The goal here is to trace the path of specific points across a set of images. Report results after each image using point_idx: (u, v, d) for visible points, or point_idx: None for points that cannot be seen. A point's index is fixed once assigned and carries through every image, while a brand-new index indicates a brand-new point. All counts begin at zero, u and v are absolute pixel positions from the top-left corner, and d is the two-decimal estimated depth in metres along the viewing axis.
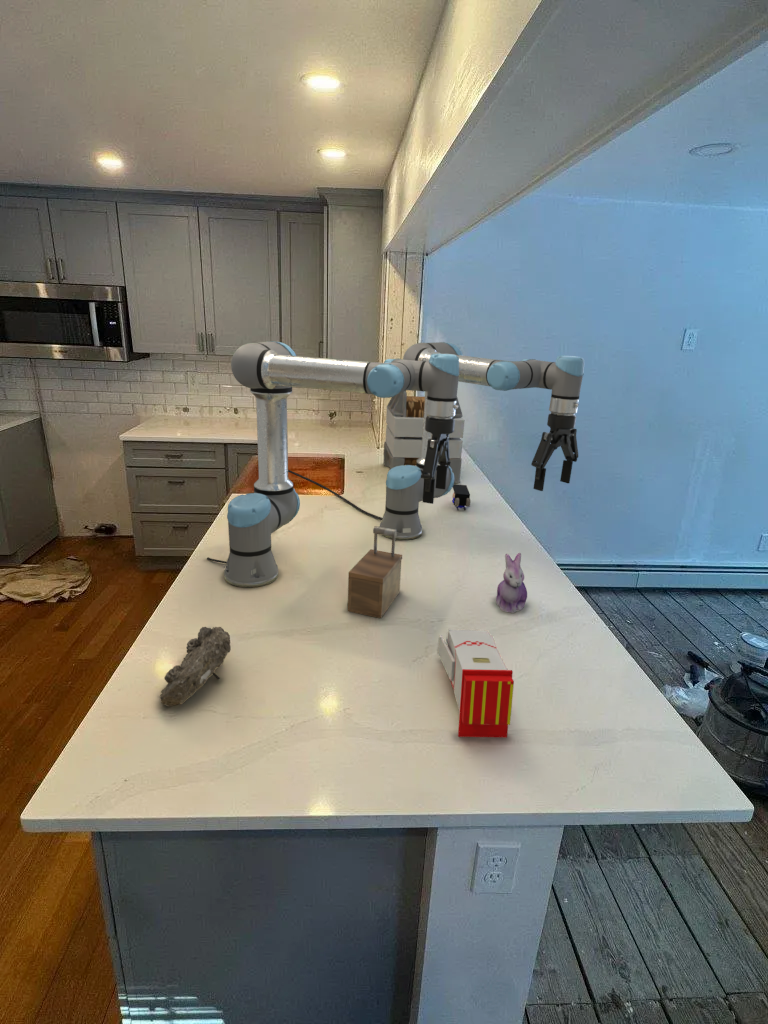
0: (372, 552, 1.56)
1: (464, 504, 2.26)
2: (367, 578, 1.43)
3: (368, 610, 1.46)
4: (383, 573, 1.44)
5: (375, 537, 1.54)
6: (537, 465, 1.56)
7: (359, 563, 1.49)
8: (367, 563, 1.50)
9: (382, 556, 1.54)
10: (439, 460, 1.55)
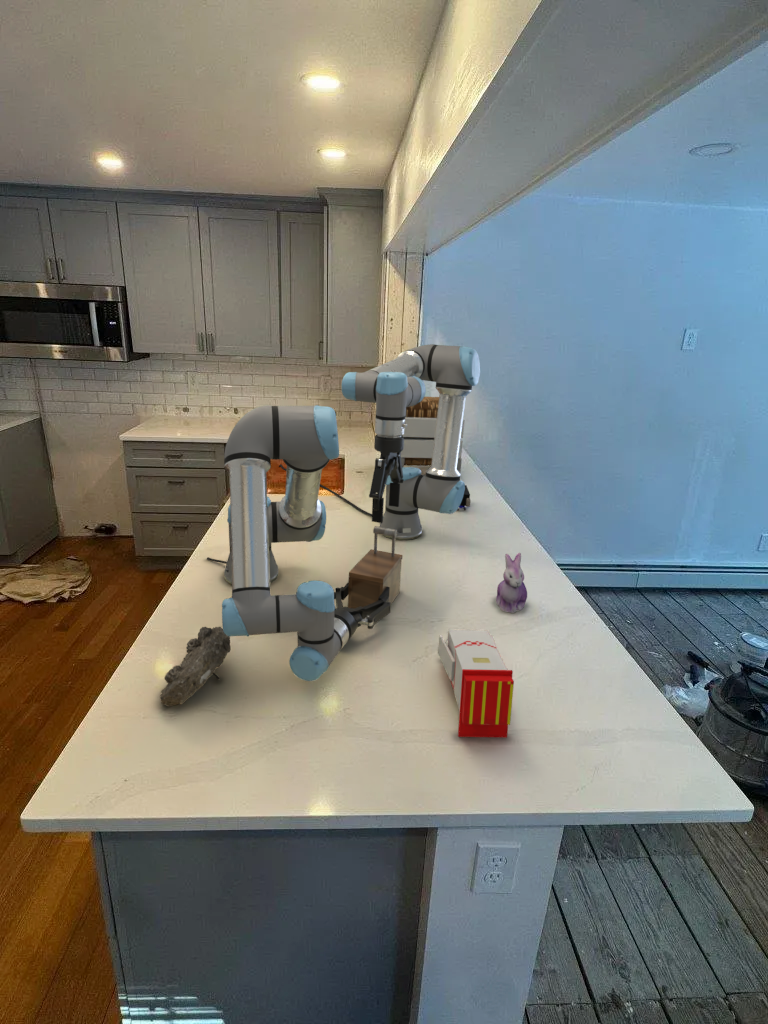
0: (372, 552, 1.56)
1: (464, 504, 2.26)
2: (367, 578, 1.43)
3: None
4: (383, 573, 1.44)
5: (375, 537, 1.54)
6: (377, 496, 1.39)
7: (359, 563, 1.49)
8: (367, 563, 1.50)
9: (382, 556, 1.54)
10: None
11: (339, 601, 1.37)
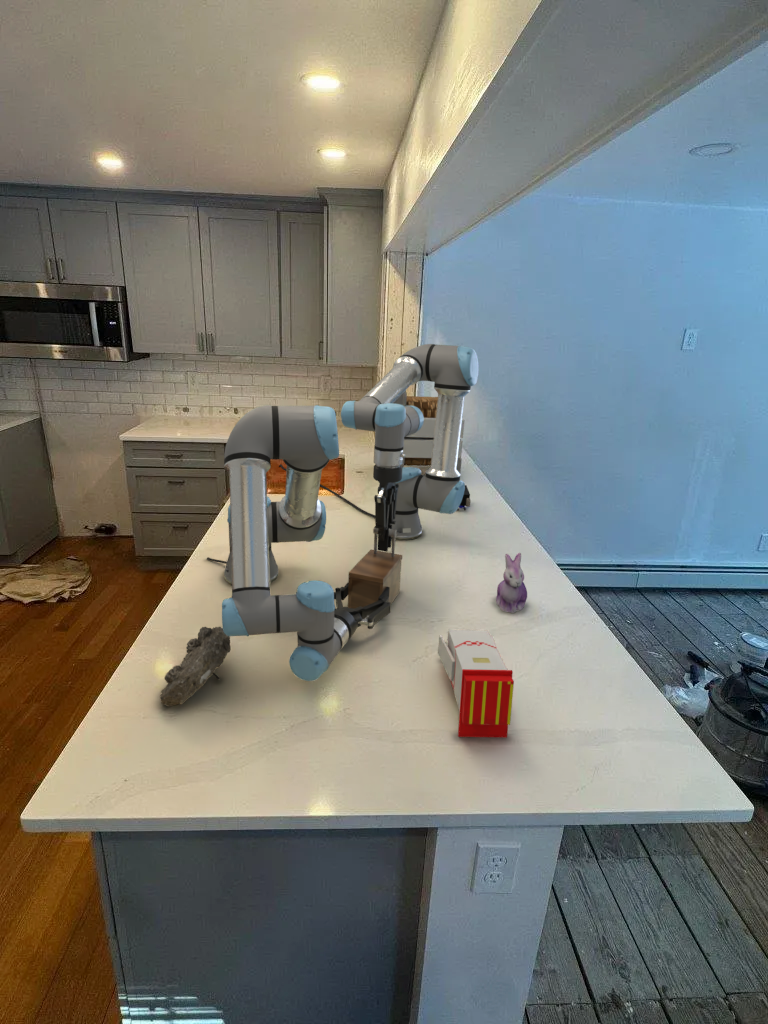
0: (372, 552, 1.56)
1: (464, 504, 2.26)
2: (367, 578, 1.43)
3: None
4: (383, 573, 1.44)
5: (375, 537, 1.54)
6: (382, 527, 1.47)
7: (359, 563, 1.49)
8: (367, 563, 1.50)
9: (382, 556, 1.54)
10: None
11: (339, 601, 1.37)
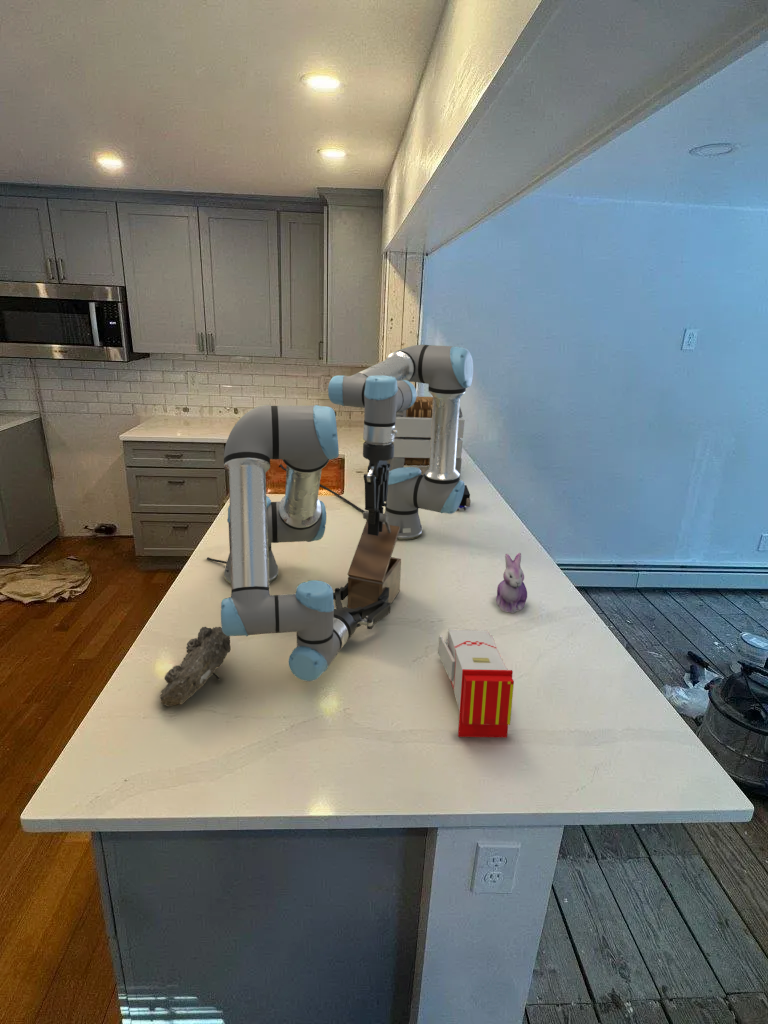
0: None
1: (464, 504, 2.26)
2: (367, 579, 1.42)
3: None
4: (381, 569, 1.42)
5: (367, 520, 1.45)
6: (372, 509, 1.37)
7: (356, 554, 1.46)
8: (364, 551, 1.46)
9: (379, 534, 1.48)
10: None
11: (339, 601, 1.37)
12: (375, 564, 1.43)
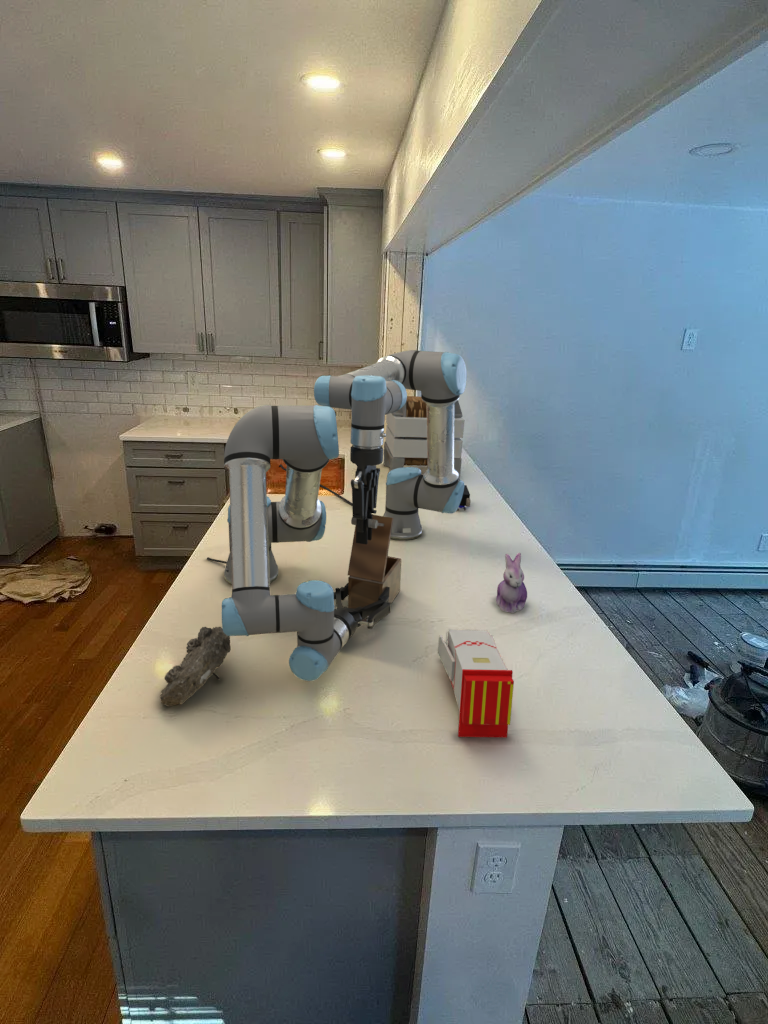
0: None
1: (464, 504, 2.26)
2: (367, 578, 1.42)
3: None
4: (380, 569, 1.41)
5: None
6: (360, 517, 1.30)
7: (353, 552, 1.43)
8: (360, 549, 1.43)
9: (372, 528, 1.42)
10: None
11: (339, 601, 1.37)
12: (373, 563, 1.41)
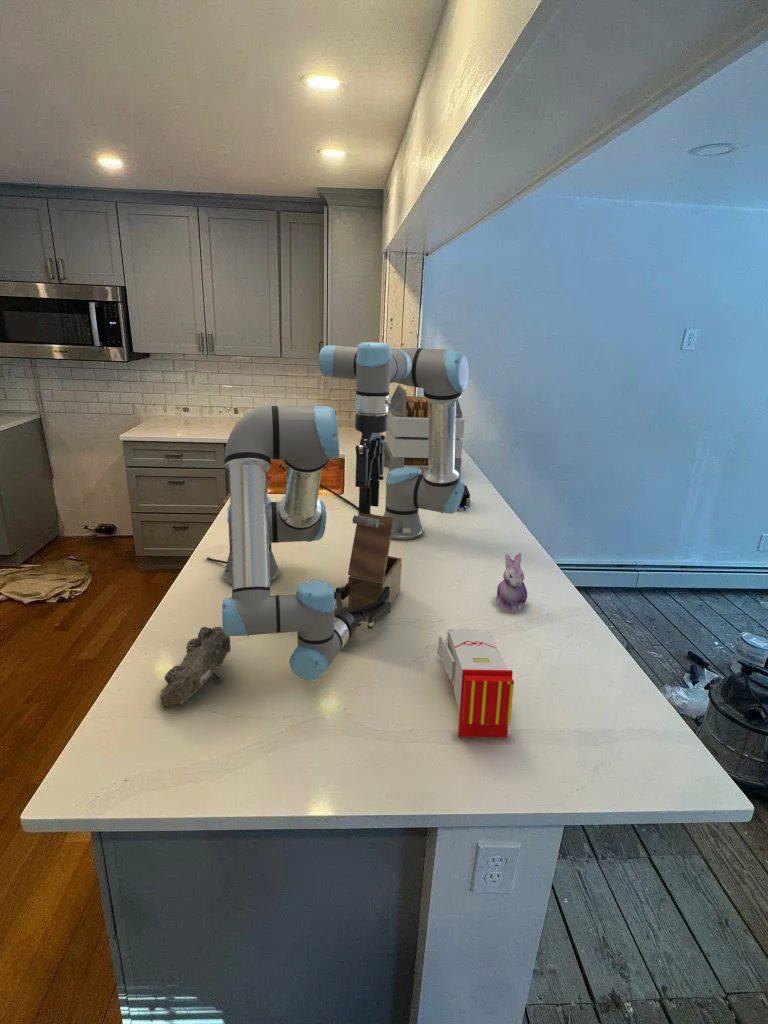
0: None
1: (464, 504, 2.26)
2: (367, 578, 1.42)
3: None
4: (380, 569, 1.41)
5: None
6: (363, 485, 1.29)
7: (354, 551, 1.43)
8: (361, 548, 1.43)
9: (373, 528, 1.42)
10: None
11: (339, 601, 1.37)
12: (373, 563, 1.42)
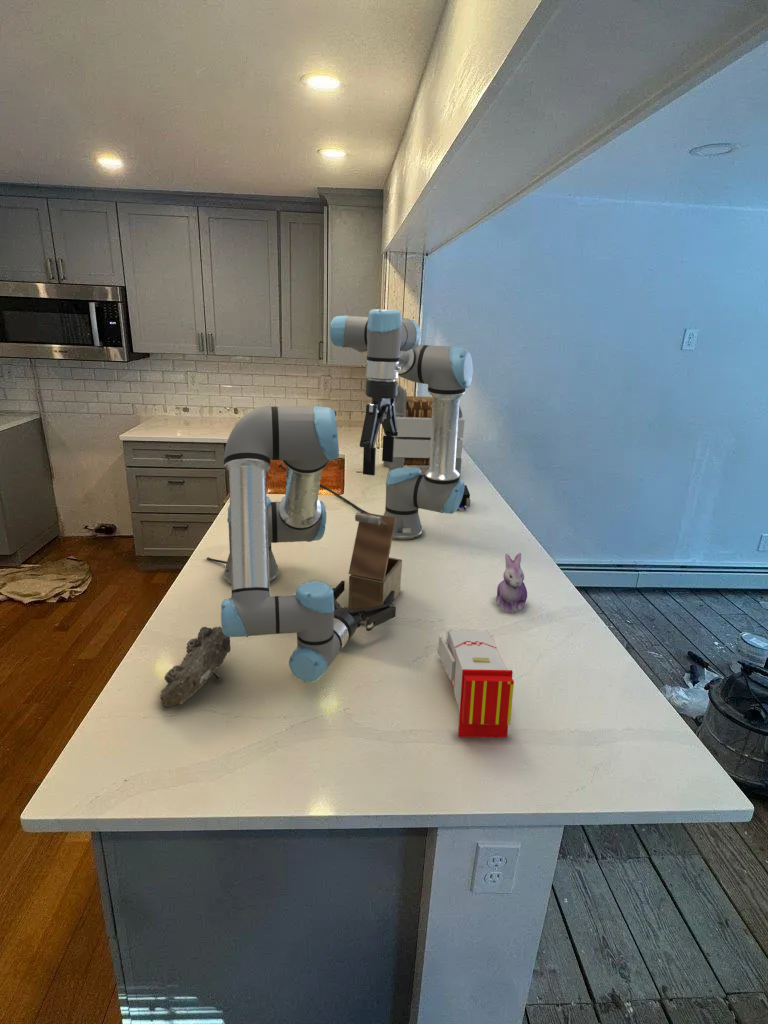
0: None
1: (464, 504, 2.26)
2: (368, 577, 1.43)
3: None
4: (381, 568, 1.42)
5: None
6: (368, 445, 1.27)
7: (355, 551, 1.44)
8: (362, 548, 1.44)
9: (375, 527, 1.44)
10: None
11: (334, 602, 1.37)
12: (374, 562, 1.42)
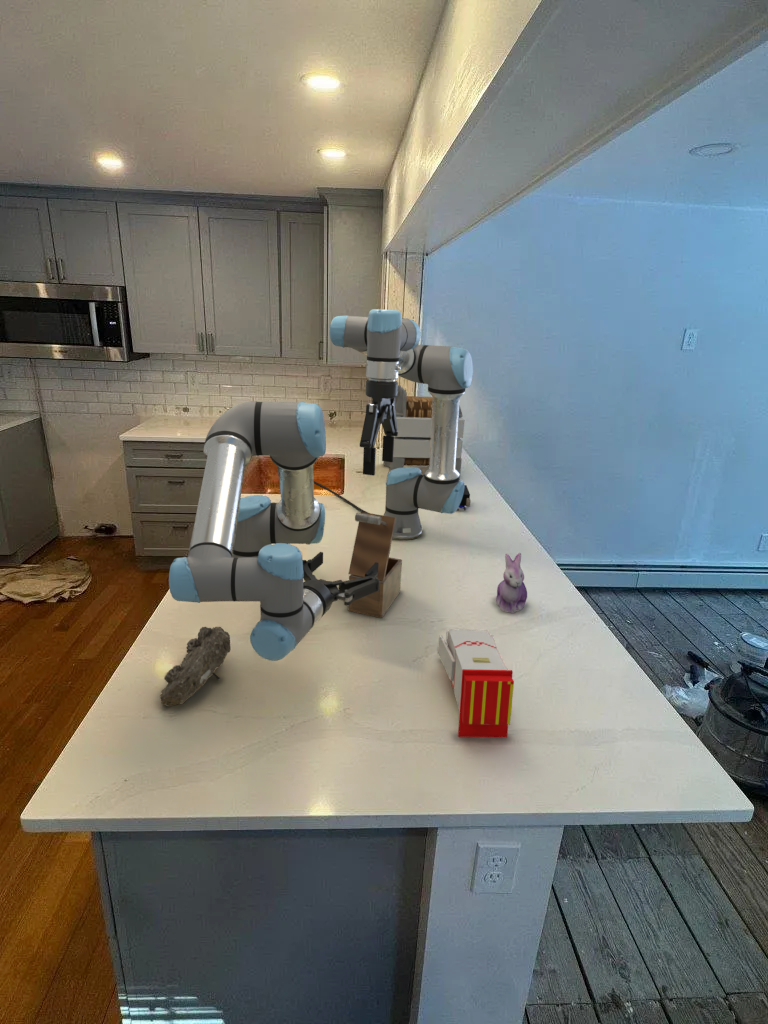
0: None
1: (464, 504, 2.26)
2: None
3: (369, 610, 1.46)
4: (381, 568, 1.42)
5: None
6: (368, 445, 1.27)
7: (355, 550, 1.44)
8: (362, 547, 1.44)
9: (375, 527, 1.44)
10: None
11: (309, 574, 1.20)
12: (374, 562, 1.42)
